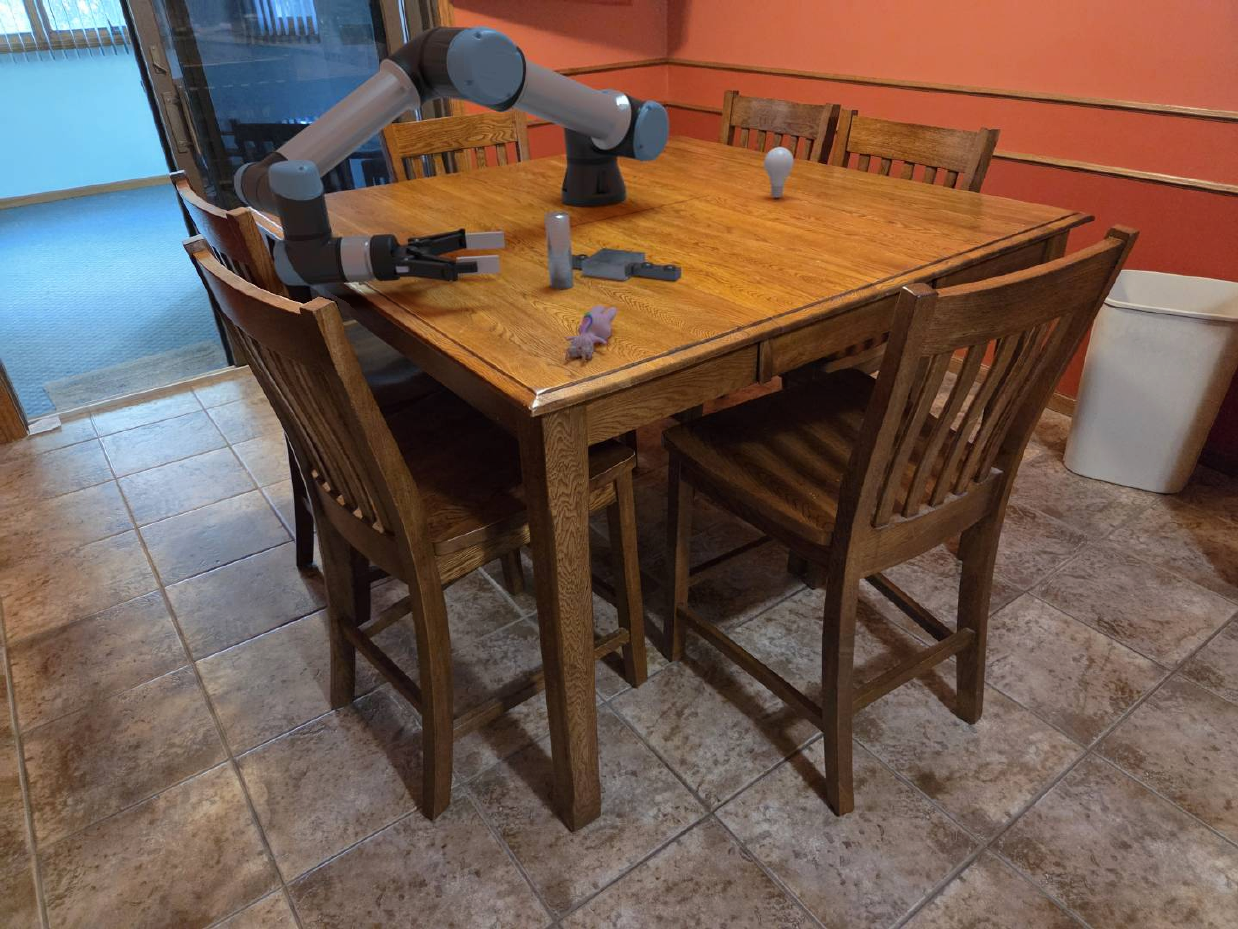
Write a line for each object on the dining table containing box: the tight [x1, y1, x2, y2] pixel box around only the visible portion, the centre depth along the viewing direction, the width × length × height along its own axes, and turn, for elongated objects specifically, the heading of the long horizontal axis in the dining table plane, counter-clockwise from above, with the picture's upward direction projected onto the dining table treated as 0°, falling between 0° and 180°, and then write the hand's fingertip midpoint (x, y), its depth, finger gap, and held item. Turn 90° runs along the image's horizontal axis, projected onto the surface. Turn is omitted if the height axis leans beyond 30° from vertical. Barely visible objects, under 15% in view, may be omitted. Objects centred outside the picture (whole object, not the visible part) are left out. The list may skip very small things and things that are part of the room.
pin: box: [543, 211, 575, 290], centre depth 136 cm, size 4×4×12 cm
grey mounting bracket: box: [572, 247, 682, 282], centre depth 144 cm, size 25×8×2 cm, turn 63°
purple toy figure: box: [564, 305, 618, 364], centre depth 116 cm, size 6×6×15 cm
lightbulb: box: [764, 146, 794, 200], centre depth 181 cm, size 6×6×11 cm
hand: (501, 251), depth 136 cm, fingers open, 13 cm apart
